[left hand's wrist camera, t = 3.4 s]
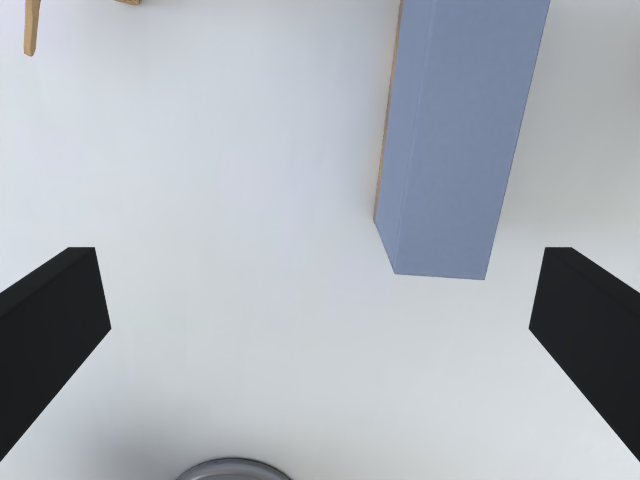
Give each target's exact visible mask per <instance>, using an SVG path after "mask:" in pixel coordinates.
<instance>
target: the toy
mask: <svg viewBox="0 0 640 480" xmlns="http://www.w3.org/2000/svg"><path fill="white" fill-rule="evenodd" d="M40 1H41V0H26V2H25V33H24V53H25V54H26V55H28V56H31V57H32V56H33V54H34V52H35V49H36V38H37V27H38V18H39V8H40ZM115 1H118V2H124V3H128V4H132V5H137V4H139V0H115Z"/></svg>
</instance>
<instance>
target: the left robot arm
mask: <svg viewBox="0 0 640 480" xmlns="http://www.w3.org/2000/svg"><path fill="white" fill-rule="evenodd" d="M110 330H111V324H110V319H109V314H108V310H107V305H106V300H105V295H104V290H103V285H102V280H101V275H100V271H99V266H98V261H97V256H96V251H95V247H68V248H67V249H65V250H64V251H62V252H61V253H59V254H58V255H56V256H55V257H53V258H52V259H50V260H49V261H47V262H46V263H44V264H43V265H41V266H40V267H38V268H37V269H35V270H34V271H32V272H31V273H29V274H28V275H26V276H25V277H23V278H22V279H20V280H19V281H17V282H16V283H15V284H13V285H12V286H10V287H9V288H7V289H6V290H4V291H3V292H1V293H0V462H1V460H2V459H3V458H4V457H5V456H6V454H7V453H8V452H9V451H10V450H11V448H12V447H13V446H14V445H15V444H16V442H17V441H18V440H19V439H20V438H21V436H22V435H23V434H24V433H25V432H26V430H27V429H28V428H29V427H30V426H31V424H32V423H33V422H34V421H35V420H36V418H37V417H38V416H39V415H40V414H41V412H42V411H43V410H44V409H45V408H46V406H47V405H48V404H49V403H50V402H51V400H52V399H53V398H54V397H55V396H56V394H57V393H58V392H59V391H60V390H61V388H62V387H63V386H64V385H65V384H66V382H67V381H68V380H69V379H70V378H71V376H72V375H73V374H74V373H75V372H76V370H77V369H78V368H79V367H80V366H81V364H82V363H83V362H84V361H85V360H86V358H87V357H88V356H89V355H90V354H91V352H92V351H93V350H94V349H95V348H96V346H97V345H98V344H99V343H100V342H101V341H102V339H103V338H104V337H105V336H106V335H107V333H108V332H109V331H110ZM529 330H530V331H531V332H532V333H533V335H534V336H535V337H536V338H537V339H538V341H539V342H540V343H541V344H542V345H543V346H544V348H545V349H546V350H547V351H548V352H549V354H550V355H551V356H552V357H553V358H554V360H555V361H556V362H557V363H558V364H559V366H560V367H561V368H562V369H563V370H564V372H565V373H566V374H567V375H568V376H569V378H570V379H571V380H572V381H573V382H574V384H575V385H576V386H577V387H578V388H579V390H580V391H581V392H582V393H583V394H584V396H585V397H586V398H587V399H588V400H589V402H590V403H591V404H592V405H593V406H594V408H595V409H596V410H597V411H598V412H599V414H600V415H601V416H602V417H603V418H604V420H605V421H606V422H607V423H608V424H609V426H610V427H611V428H612V429H613V430H614V432H615V433H616V434H617V435H618V436H619V438H620V439H621V440H622V441H623V442H624V444H625V445H626V446H627V447H628V448H629V450H630V451H631V452H632V453H633V454H634V456H635V457H636V458H637V459H638V460H639V462H640V293H639V292H637V291H636V290H634V289H633V288H631V287H630V286H628V285H627V284H625V283H624V282H623V281H621V280H620V279H618V278H617V277H615V276H614V275H612V274H611V273H609V272H608V271H606V270H605V269H603V268H602V267H600V266H599V265H597V264H596V263H594V262H593V261H591V260H590V259H588V258H587V257H585V256H584V255H582V254H581V253H579V252H578V251H576V250H575V249H573V248H572V247H545V251H544V256H543V261H542V266H541V271H540V275H539V280H538V285H537V290H536V295H535V300H534V305H533V310H532V314H531V319H530V324H529ZM177 480H290V479H289V478H287V477H286V476H285V475H284V474H282V473H280V472H279V471H277V470H275V469H273V468H271V467H269V466H267V465H264V464H261V463H258V462H254V461H249V460H243V459H220V460H213V461H209V462H205V463H202V464H199V465H197V466H195V467H193V468H191V469H189V470H187V471H186V472H184V473H183V474H182V475H181V476H180V477H179V478H177Z"/></svg>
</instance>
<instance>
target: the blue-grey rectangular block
mask: <svg viewBox="0 0 640 480" xmlns="http://www.w3.org/2000/svg"><path fill="white" fill-rule="evenodd" d="M549 3H550V0H400V8H399V16H398V24H397V32H396V40H395V48H394V56H393V64H392V72H391V80H390V88H389V96H388V104H387V112H386V120H385V128H384V136H383V144H382V152H381V160H380V168H379V176H378V184H377V192H376V200H375V208H374V216H373V221H374V223H375V224H376V227H377V230H378V232H379V235H380V237H381V240H382V242H383V245H384V248H385V250H386V253H387V255H388V258H389V260H390V263H391V266H392V268H393V271H394V273H395V274H402V275H416V276H431V277H446V278H461V279H476V280H484V279H485V275H486V271H487V267H488V263H489V258H490V254H491V250H492V246H493V241H494V237H495V233H496V229H497V224H498V220H499V216H500V212H501V207H502V203H503V199H504V195H505V190H506V186H507V182H508V178H509V173H510V169H511V165H512V161H513V156H514V152H515V148H516V144H517V139H518V135H519V131H520V127H521V122H522V118H523V114H524V110H525V105H526V101H527V97H528V93H529V88H530V84H531V80H532V76H533V71H534V67H535V63H536V59H537V54H538V50H539V46H540V42H541V37H542V33H543V29H544V25H545V20H546V16H547V12H548V8H549Z"/></svg>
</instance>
